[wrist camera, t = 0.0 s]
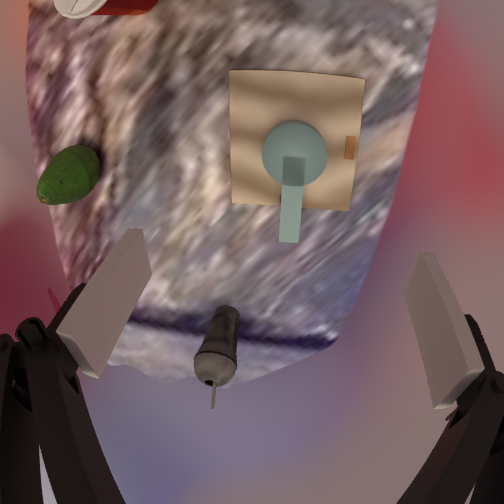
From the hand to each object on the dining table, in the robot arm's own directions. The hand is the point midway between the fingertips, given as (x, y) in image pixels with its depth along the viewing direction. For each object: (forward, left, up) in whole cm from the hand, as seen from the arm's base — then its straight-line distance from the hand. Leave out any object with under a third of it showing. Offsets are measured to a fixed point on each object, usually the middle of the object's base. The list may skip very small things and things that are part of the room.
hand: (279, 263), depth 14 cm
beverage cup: (+35, -9, -28) cm, 46 cm away
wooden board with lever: (+2, +1, -28) cm, 28 cm away
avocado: (+5, -30, -28) cm, 42 cm away
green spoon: (+6, +1, -24) cm, 24 cm away
